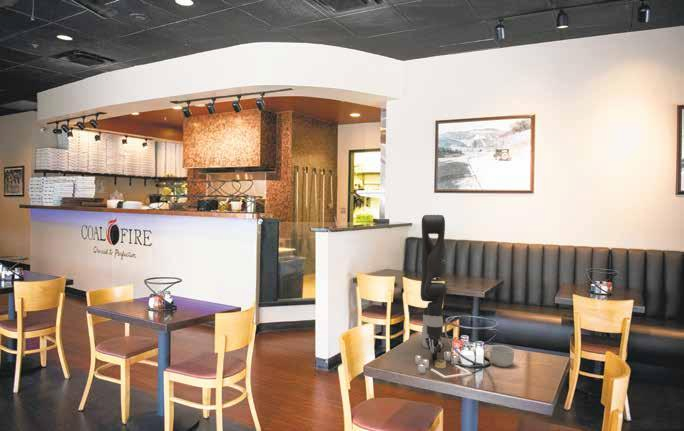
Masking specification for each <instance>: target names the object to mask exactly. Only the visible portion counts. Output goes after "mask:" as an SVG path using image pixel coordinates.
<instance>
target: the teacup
mask: <svg viewBox="0 0 684 431" xmlns="http://www.w3.org/2000/svg"><path fill="white" fill-rule="evenodd" d="M489 348H490V349H489ZM489 348H487V349H484V352H483V354H484V357H485V358H486V359H488V360H489V362H492V363H493V364H494V365H495V366H496V367H501V368H508V367H510V366H511V365H512V364H513V363H514V357H515V354H514V353H515V350H514V349H515V348H512V347H510V346H507V345H502V344H494V345H491V346H490V347H489ZM488 352H489V353H490V356H488V354H487V353H488Z"/></svg>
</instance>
